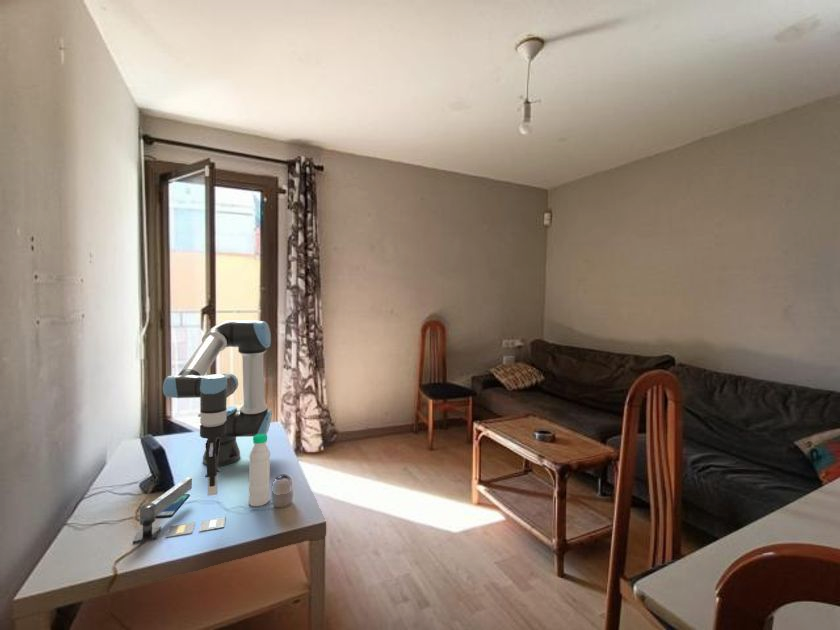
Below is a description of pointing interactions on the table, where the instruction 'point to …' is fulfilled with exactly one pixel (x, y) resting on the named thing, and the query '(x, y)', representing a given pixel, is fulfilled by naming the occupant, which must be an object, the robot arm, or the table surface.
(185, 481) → the rail
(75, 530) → the table surface
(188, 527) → the label plate ochre
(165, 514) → the smartphone
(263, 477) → the water bottle
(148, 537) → the dark grey square block
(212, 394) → the robot arm
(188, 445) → the table surface
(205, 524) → the label plate dark grey
